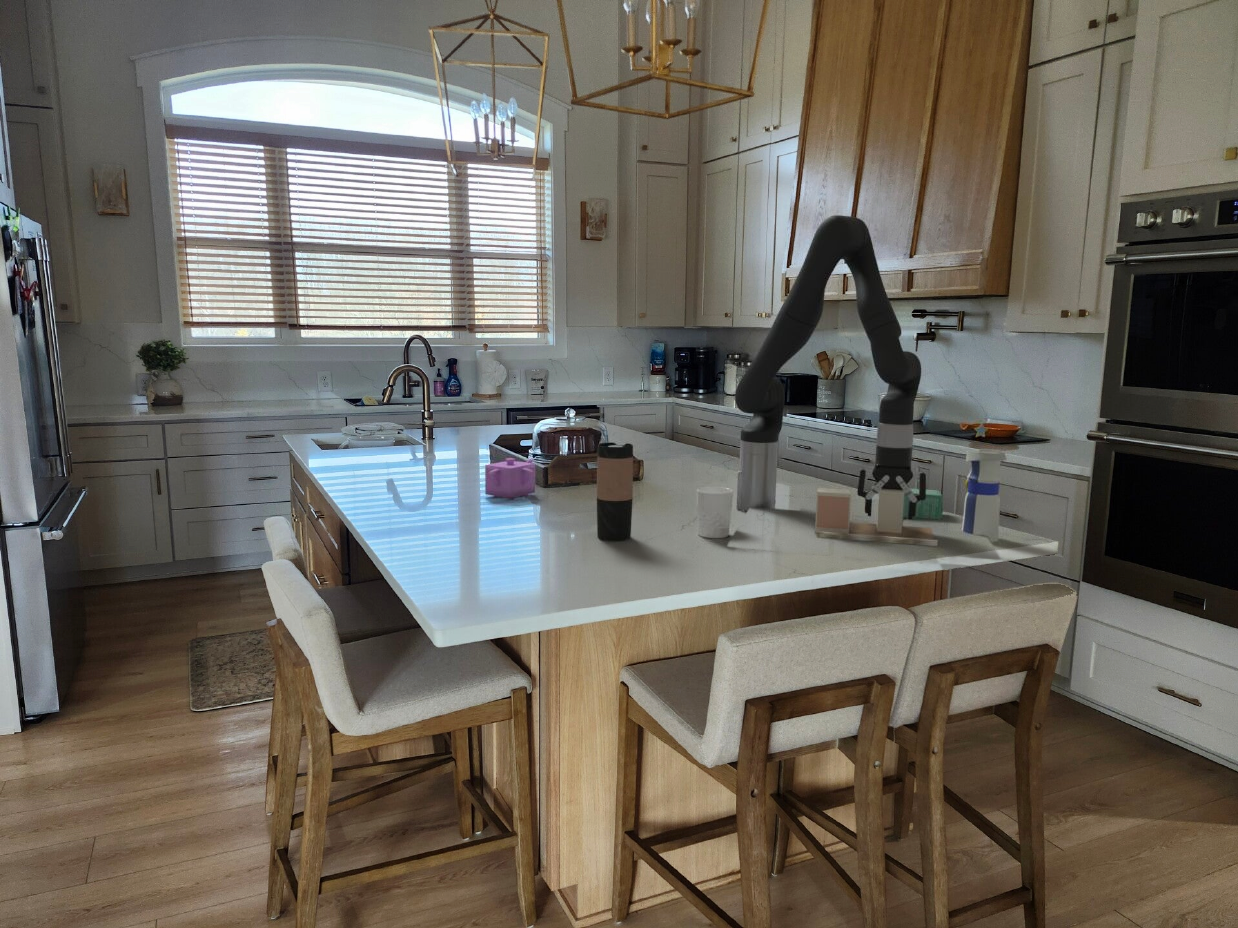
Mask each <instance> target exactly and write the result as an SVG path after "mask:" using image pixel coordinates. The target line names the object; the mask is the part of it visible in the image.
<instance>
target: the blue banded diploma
mask: <svg viewBox="0 0 1238 928" xmlns="http://www.w3.org/2000/svg"><path fill="white" fill-rule="evenodd" d="M973 429H974V431H976V435H975V438H977V437H980V436H981V437H983V438H985V437H986V434H985V433H986V432H987V431H988V430H989V427H985V425H984V423H983V422H981V424H980V425H979V426H978V427H974V428H973ZM969 461H970V471H969V473H968V475H967V476H966V478H967V479H966V481H965V489H966V491H967V492H966V494H965V496H964V497H965V498H964V503H963V504H964V505H963V506H964V508H963V516H962V517H963V518H962V524H961V525H962V526H961V531H962V532H964V533H967V534H970V535H976V536H985V537H987V539H988V541H989V543H996V542H998V541H999V537H1000V536H999V535H1000V533H999V532H1000V531H999V529H1000V528H999V527H1000V514H1001V513H1000V510H1001V497H1000V493H999V492H1000V482H1002V481H1003V478H1002V476H1001V474H1000V467H1001V463H1002V462H1003V461H1007V457H1006V453H1005V451H1003V450H999V449H998V450H996V449H990V448H981V449H979V451H974V450H973V451H972V450H969V449H967V450H966V456H965V464H968V462H969Z"/></svg>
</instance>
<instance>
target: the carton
mask: <svg viewBox="0 0 1238 928" xmlns="http://www.w3.org/2000/svg"><path fill="white" fill-rule="evenodd" d="M904 499H905V495H904V490H903V489H902V490H893V489H882V488H881V489H880V490H879V491H878V499H877V512H876V514H877V515H876V524H877V531H878V532H892V533H902V527H903V526H904V517H903V513H904Z"/></svg>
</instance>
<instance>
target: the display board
mask: <svg viewBox="0 0 1238 928" xmlns="http://www.w3.org/2000/svg"><path fill="white" fill-rule="evenodd" d="M816 537H817V538H823V539H835V540H851V541H863V542H864V541H869V542H876V543H877V542H880V543H890V544H901V545H918V546H919V545H920V546H932V547H937V546H938V542H939V541H938V540H937V539H935V536H934V534H933V531H932V529H931V527H925V526H924V527H921V526H909V525H903V527H902V533H892V532H878V531H877V523H867V522H854V521H853V522H851V521H849V534H848V533H834V532H820V531H817V533H816Z"/></svg>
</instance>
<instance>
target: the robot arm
mask: <svg viewBox="0 0 1238 928" xmlns="http://www.w3.org/2000/svg"><path fill="white" fill-rule="evenodd" d="M875 253H876V252H875V249H874V245H873V242H872V237H871V234H870V229H869V228H868V226H867V224H866V222H864V220H862V218H859V217H856V216H851V215H848V216H847V215H841V214H840V215H835V214H834V215H831V216H828V217H826V218H825V219H824V220H822V222H821V223H820V224H819V226H818V227H817V229H816V231H815V233H814V235H813V238H812V240H811V243H810V246H809V248H808V251H807V253H806V256H805V258H804V261H803V264H802V266H801V268H800V270H799V272H798V275H797V277H796V278H795V280H794V283H793V284H792V287H791V289H789V293H788V294H787V296H786V298H785V300H784V302H783V303H782V305H781V307H780V309H779V311H778V313H777V315H776V317H775V319H774V321H773V323H772V325H771V328H770V330H769V332H768V333H767V335H766V337H765V338H764V340H763V342H762V344H761V347H760V349H759V350H758V352H757V354H755V355H756V356H755V357H754V359H753V360H752V362H751V363H750V365H749V366H748V367H747V369H746V371H745V372H744V373H743V375H742V376H741V378H740V380H739V382H738V384H737V386H736V389H735V394H734V398H735V404H736V407H737V408H738V410H739V411H741V412H742V413H745V414H752V419H751V420H750V422H749V423H748V424H746V425H745V426H743V427H742V429H741V431H740V439H739V445H740V446H739V447H740V448H739V467H738V469H739V470H737V486H736V487H737V489H736V510H741V511H746V512H748V511H749V509H751V508H753V509H764V510H765V509H766V510H775V509H776V501H777V500H776V497H777V496H776V495H777V473H778V452H779V451H778V450H779V447H778V446H779V435H780V433H781V430H782V428H783V421H784V420H783V419H784V410H785V388H784V385H783V383H782V382H781V380H780V378H778V377H776V375H777V374H778V372H780V370H781V369H782V367H783V366H784V365H786V364H787V363H788V362H789V361H790V360H791V359H792V358H793V357H794V356H795V355H796V354H797V353H798V352H800V351H801V350H802V349H803V348H804V347H805V346H806V344H807V343H808V341H809V340H810V339H811V337H812V335H813V333H814V332H815V330H816V328H817V326H818V324H819V322H820V320H821V319H822V315H823V311H824V306H825V305H824V303H825V292H826V287H827V285H828V282H829V279H830V277H831V276H832V274H833V272H834V270H835V268H836V267H837V265H838V264H839V262H840V261H841V260H843V261H844V262H845V264H846V266H847V267H848V269H849V271H850V272H851V273H850V274H851V275H852V278H853V281H854V287H855V297H856V309H857V313H858V316H859V320H860V323H861V324H862V327H863V330H864V331H865V334H866V336H867V339H868V341H869V344H870V352H871V355H872V360H873V365H874V368H875V371H876V373H877V375H878V376H879V378H880V379H881V381H883V382H884V383H885V384H888V388H887V393H886V394H885V396H884V397H882V399H881V400H880V404H879V415H878V416H879V417H878V426H877V432H876V438H875V442H876V443H875V444H876V445H875V447H876V448H875V457H874V458H875V462H874V468H873V469H866V468H864V467H861V468H860V469H859V476H858V485H857V496H858V497H861V498H863V499H864V513H865V514H867V517H872V504H873V497H874V496H875V495H876V494H877V493H879V490H880V489H881V488H882V489H893V490H902V489H903V490H904V492H905V493H906V494H907V496H908V497H909V499H910V501H909V509H908V517H907V519H908V520H912V519H913V518H915V517H914V516H915V513H916V503H917V502H918V501H921V500H925V499H926V490H927V474H926V472H925V471H923V470H921V471H920V472H915V471H914V472H913V471H912V462H913V461H912V460H913V459H912V458H913V445H914V444H913V443H914V426H913V424H914V409H915V407H914V406H915V405H914V404H915V401H916V398H917V395H918V391H919V387H920V382H921V378H922V365H921V364H922V363H921V361H920V359H919V357H918V356H917V354H915V353H913V352H911V351H908V350H906V351H905V350H903V347H902V344H901V341H900V338H901V336H902V328H901V324H900V321H899V320H898V318H897V316H896V315H897V314H896V313H895V310H894V308H893V306H892V303H891V302H890V300H889V297H888V294H887V292H886V289H885V285H884V283H883V280H882V279H883V278H882V275H881V273H880V268H879V264H878V261H877V259H876V254H875ZM870 476H872V477H873V479H874V480H875V482H874V484H873V485H872V486H871V487H870V489H869V490H867V491H866V490H865V489H864V488H865V481H866V480H868V479H869V478H870ZM913 478H914V479H915V482H917V483H918V484H919V485H918V487H919V488H918V489H919V494H917V495H914V493H913V492H912V490H911V489H912V488H911V489H910V486H909V485H908V484H909V482H910V481H911V480H912V479H913Z"/></svg>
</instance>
